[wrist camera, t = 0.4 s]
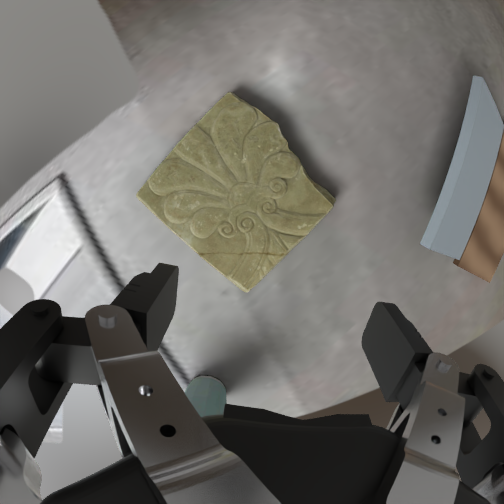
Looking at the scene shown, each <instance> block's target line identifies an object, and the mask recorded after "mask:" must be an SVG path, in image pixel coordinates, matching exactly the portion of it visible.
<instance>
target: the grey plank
mask: <svg viewBox="0 0 504 504" xmlns="http://www.w3.org/2000/svg"><path fill="white" fill-rule="evenodd" d="M503 130H504V124H503V122H502V119H501V116H500V114H499V112H498V109H497V107H496V104H495V102H494V100H493V98H492V95H491V93H490V91H489V89H488V87H487V85H486V83H485V81H484V79H483V77H479V76H473V80H472V85H471V90H470V95H469V99H468V104H467V108H466V112H465V116H464V120H463V124H462V128H461V132H460V135H459V139H458V142H457V146H456V149H455V152H454V156H453V159H452V162H451V165H450V168H449V171H448V174H447V177H446V180H445V183H444V185H443V188H442V191H441V194H440V196H439V199H438V202H437V204H436V207H435V209H434V212H433V214H432V217H431V219H430V222H429V224H428V226H427V229H426V231H425V233H424V236H423V238H422V240H421V243H420V244H421V245H423V246H425V247H426V248H428V249H430V250H433V251H436V252H438V253H441V254H444V255H447V256H450V257H452V258H455V259H458V260H460V258H461V256H462V254H463V251H464V249H465V247H466V244H467V242H468V240H469V237H470V235H471V233H472V230H473V228H474V225H475V223H476V220H477V217H478V215H479V212H480V209H481V207H482V204H483V201H484V198H485V195H486V192H487V189H488V186H489V183H490V180H491V176H492V173H493V170H494V166H495V162H496V159H497V155H498V151H499V147H500V143H501V139H502V134H503Z"/></svg>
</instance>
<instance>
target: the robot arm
mask: <svg viewBox="0 0 504 504" xmlns="http://www.w3.org/2000/svg"><path fill="white" fill-rule="evenodd" d="M178 274H179V268H178V266H174V265H169V264H164V263H159V264H158V265H157V266H156V267H155V269H154V270H153V271H152V272H151V273H146V272H143V273H141V274H139V275H137V276H135V277H134V278H133V279H132V280H131V281H130V282H129V284H127V286H126V287H125V288H124V290H122V291H121V292H120V294H119V295H118V296H117V297H116V298H115V299H114V301H113V302H112V303H111V304H110V305H100V306H96V307H94V308H92V309H90V310H89V311H88V312H87V313H86V315H85V318H76V317H64V316H62V313H61V307H60V306H59V304H57V303H56V302H54V301H52V300H46V299H40V300H34V301H32V302H29V303H27V304H26V305H25V306H23V307H22V308H21V309H20V310H19V311H18V312H17V313H16V314H15V315H14V316H13V317H12V318H11V319H10V320H9V321H8V322H7V323H6V324H5V325H4V326H3V327H2V328H1V329H0V504H504V382H503V380H502V379H501V377H500V376H499V375H498V374H497V372H496V371H495V370H493V369H492V368H490V367H489V366H487V365H483V364H477V365H476V366H475V367H474V369H473V371H472V372H471V374H465V373H462V372H459V367H458V365H457V363H455V361H454V360H453V359H451V358H450V357H448V356H446V355H444V354H441V353H433V352H432V350H431V349H430V347H429V346H428V345H427V343H426V342H425V340H424V339H423V338H421V335H420V333H419V332H417V329H416V328H415V327H414V325H413V324H412V323H411V322H410V321H409V320H407V319H406V318H405V316H404V315H403V314H402V312H401V311H400V310H399V308H398V307H397V306H396V305H395V304H392V303H385V302H377V303H376V304H375V306H374V308H373V311H372V313H371V316H370V318H369V321H368V323H367V325H366V328H365V330H364V333H363V336H362V347H363V350H364V352H365V354H366V356H367V359H368V361H369V363H370V365H371V368H372V370H373V372H374V375H375V377H376V379H377V382H378V384H379V386H380V389H381V391H382V393H383V396H384V398H385V401H386V402H399V405H398V406H397V408H396V409H395V411H394V414H393V416H392V418H391V420H390V422H389V424H388V427H387V429H385V428H382V427H379V426H376V425H372V423H371V420H370V418H369V415H368V414H364V415H363V414H361V415H360V414H356V415H354V414H352V415H350V414H348V415H347V414H345V415H344V414H336V415H331V416H325V417H320V418H314V419H307V420H300V419H296V418H292V417H289V416H285V415H282V414H278V413H275V412H271V411H268V410H265V409H259V408H251V407H244V406H237V405H230V404H225V406H224V410H223V414H218V415H208V416H203V417H200V415H199V414H198V412H197V411H196V409H195V408H194V406H193V405H192V404H191V402H190V401H189V399H188V398H187V396H186V395H185V393H184V391H183V390H182V388H181V387H180V385H179V384H178V382H177V381H176V379H175V377H174V376H173V374H172V373H171V371H170V369H169V368H168V366H167V365H166V363H165V361H164V360H163V358H162V356H161V355H160V353H159V352H158V351H157V350H158V348H159V346H160V344H161V342H162V339H163V337H164V335H165V333H166V331H167V329H168V326H169V324H170V322H171V320H172V318H173V315H174V311H175V306H176V297H177V285H178ZM73 383H78V384H89V385H96V387H97V390H98V393H99V396H100V399H101V402H102V405H103V408H104V411H105V413H106V416H107V419H108V421H109V424H110V427H111V429H112V432H113V435H114V438H115V441H116V444H117V446H118V449H119V451H120V453H121V456H122V458H123V459H121V460H119V461H117V462H116V463H114V464H112V465H110V466H108V467H106V468H104V469H102V470H100V471H98V472H96V473H94V474H92V475H90V476H88V477H86V478H84V479H82V480H80V481H78V482H75V483H73V484H71V485H69V486H67V487H64V488H62V489H60V490H58V491H56V492H53V493H52V494H50V495H49V496H47V497H46V498H45V499H44V500H43V501H42V498H41V494H40V485H41V480H42V475H41V470H40V468H39V466H38V464H37V462H36V461H35V460H34V458H35V456H36V454H37V451H38V449H39V447H40V445H41V443H42V441H43V439H44V437H45V435H46V433H47V431H48V429H49V427H50V425H51V423H52V421H53V419H54V417H55V415H56V413H57V412H58V410H59V408H60V406H61V404H62V402H63V400H64V399H65V397H66V395H67V393H68V391H69V389H70V388H71V386H72V384H73ZM483 408H484V410H485V412H486V413H487V415H488V417H489V419H490V421H491V429H490V431H489V433H488V434H487V435H486V437H485V438H484V439H483V440H481V438H480V436H479V434H478V432H477V430H476V428H475V427H474V424H473V423H472V421H473V420H474V419H475V418H476V416H477V415H478V414H479V413H480V411H481V410H482V409H483ZM455 467H457V470H458V472H459V474H458V473H456V472H455ZM459 475H460V478H461V480H462V482H461V481H460V480H459Z"/></svg>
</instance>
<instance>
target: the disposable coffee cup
mask: <svg viewBox="0 0 504 504" xmlns="http://www.w3.org/2000/svg"><path fill="white" fill-rule="evenodd" d="M185 395H186V396H187V398H188V399H189V401H190V402H191V404H192V405H193V406H194V408H195V409H196V411H197V412H198V414H199V415H200V417H203V416H208V415H218V414H223V410H224V406H225V404H227V403H226V388H225V387H224V385H223V384H222V383H221V381H220V380H218V379H216V378H214V377H212V376H199V377H196V378H194V379H193V380H192V381H191V382H190V384H189V385H188V387H187V389H186V391H185Z"/></svg>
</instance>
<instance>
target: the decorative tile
mask: <svg viewBox="0 0 504 504" xmlns="http://www.w3.org/2000/svg"><path fill="white" fill-rule="evenodd" d="M136 197H137V198H138V199H139V200H140V201H141V202H142V203H143V204H144V205H145V206H146V207H147V208H148V209H149V210H150V211H151V212H152V213H153V214H155V215H156V216H157V217H158V218H159V219H160V220H161V221H162V222H163V223H164V224H165V225H166V226H167V227H168V228H169V229H170V230H171V231H172V232H174V233H175V234H176V235H177V236H178V237H179V238H180V239H182V240H183V241H184V242H185V243H186V244H187V245H188V246H190V247H191V248H192V249H193V250H194V251H195V252H196V253H198V254H199V256H200V257H202V258H203V259H204V260H205V261H206V262H208V263H209V264H210V265H211V266H212V267H214V268H215V269H216V270H217V271H219V272H220V273H221V274H222V275H224V276H225V277H226V278H227V279H228V280H230V281H231V282H232V283H234V284H235V285H236V286H237V287H239V288H240V289H241V290H242V291H244V292H249V291H250V290H251V289H252V288H253V287H254V286H256V285H257V284H258V283H259V282H260V281H261V280H262V279H263V278H264V277H265V276H266V275H267V274H268V273H269V272H270V271H271V270H272V269H273V268H274V267H275V266H276V265H277V264H278V263H279V262H280V261H281V260H282V259H283V258H284V257H285V256H286V255H287V254H288V253H289V252H290V251H291V250H292V249H293V248H294V247H295V246H296V245H297V244H298V243H299V242H300V241H301V240H302V239H303V238H304V237H305V236H306V235H307V234H308V233H309V232H310V231H311V230H312V229H313V228H314V227H315V226H316V225H317V224H318V223H319V222H320V221H321V220H322V219H323V218H324V217H325V216H326V214H327V213H328V212H329V211H330V210H331V209H332V208H333V206H334V203H335V202H336V199H335V198H334V197H333V196H332V195H331V194H330V193H329V192H328V191H327V190H326V189H325V188H323V187H321V186H320V185H319V184H317V183H315V182H313V181H312V179H311V178H310V177H309V176H308V174H307V173H306V171H305V168H304V167H303V166H302V165H301V162H300V159H299V158H298V157H297V156H296V155H295V154H294V153H293V152H292V151H291V150H290V149H289V146H288V142H287V140H286V138H285V137H284V136H283V134H282V133H281V130H280V127H279V125H278V123H276V122H274V121H272V120H271V119H269V118H268V117H267V116H266V115H264V114H263V113H262V112H261V111H259V110H258V109H257V108H256V107H254V106H251V105H249V104H248V103H247V102H246V101H244V100H242V99H240V98H239V97H238V96H237V95H235V94H234V93H232V92H228V93H227V94H226V95H225V96H224V97H223V98H221V99H220V100H219V101H218V102H217V103H216V104H215V105H214V106H213V107H212V108H211V109H210V110H209V111H208V112H207V113H206V114H205V116H204V117H203V118H202V119H201V120H200V121H199V122H198V123H197V124H196V125H195V126H194V127H193V128H192V129H191V130H190V131H189V132H188V133H187V134H186V135H185V136H184V137H183V138H182V139H181V140H180V142H179V143H178V144H177V145H176V146H175V147H174V149H173V150H172V151H171V152H170V154H169V155H168V156H167V157H166V158H165V160H164V161H163V162H162V163H161V164H160V165H159V166H158V167H157V169H156V170H155V171H154V172H153V174H152V175H151V176H150V178H149V179H148V180H147V182H146V183H145V184H144V185H143V187H142V188H141V189H140V190H139V191H138V192H137V195H136Z"/></svg>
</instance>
